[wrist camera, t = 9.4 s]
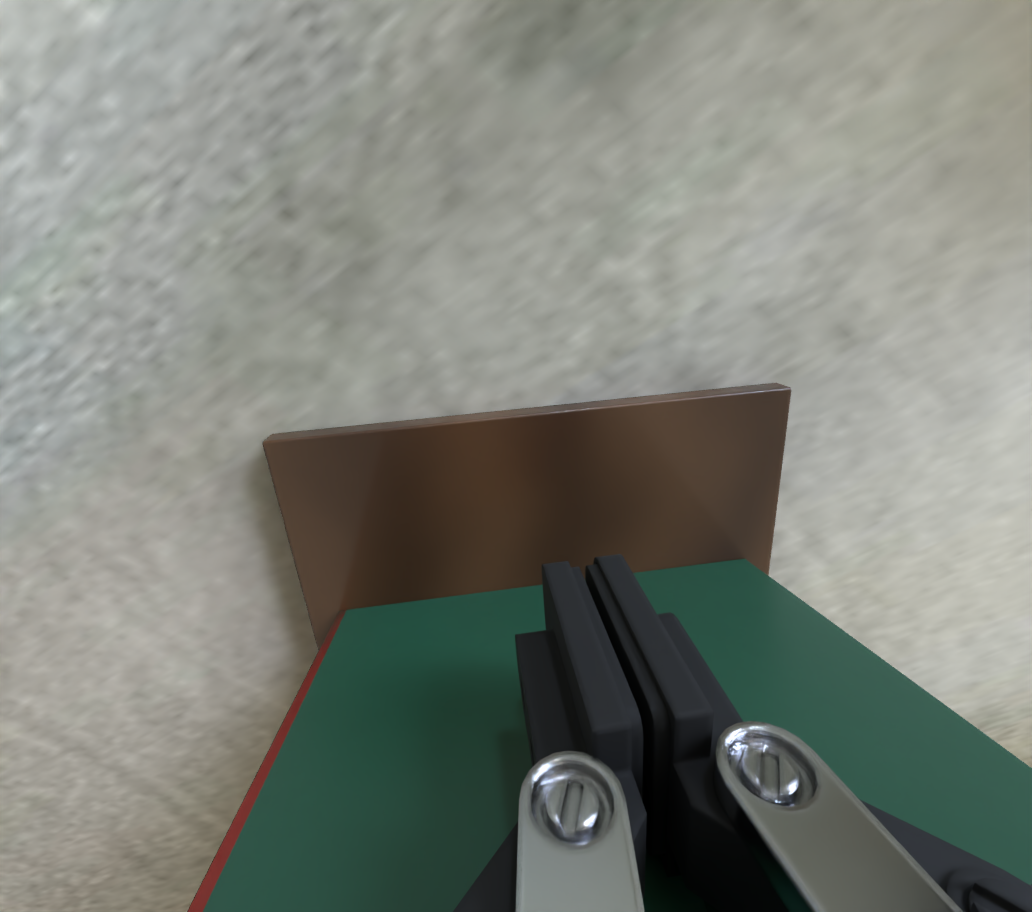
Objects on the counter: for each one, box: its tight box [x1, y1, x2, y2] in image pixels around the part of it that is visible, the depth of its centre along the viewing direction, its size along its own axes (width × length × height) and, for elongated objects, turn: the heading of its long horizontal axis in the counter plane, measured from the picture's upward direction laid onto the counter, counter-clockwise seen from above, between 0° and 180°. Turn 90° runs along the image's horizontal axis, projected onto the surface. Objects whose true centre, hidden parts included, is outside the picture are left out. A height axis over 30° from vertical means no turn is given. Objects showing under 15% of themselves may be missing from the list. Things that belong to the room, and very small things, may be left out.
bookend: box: [263, 383, 791, 650], centre depth 10 cm, size 16×10×15 cm, turn 94°
